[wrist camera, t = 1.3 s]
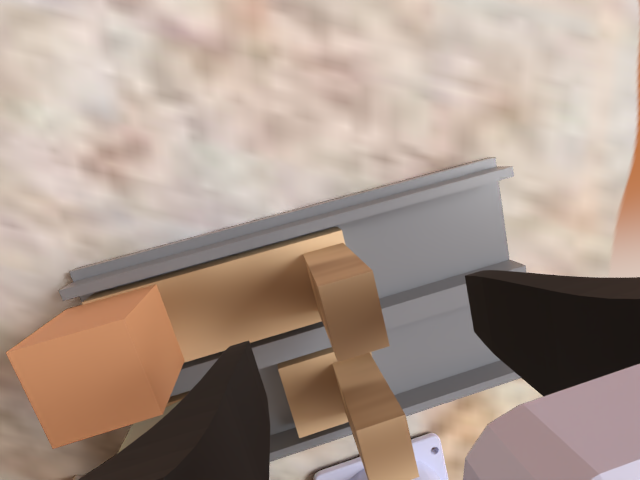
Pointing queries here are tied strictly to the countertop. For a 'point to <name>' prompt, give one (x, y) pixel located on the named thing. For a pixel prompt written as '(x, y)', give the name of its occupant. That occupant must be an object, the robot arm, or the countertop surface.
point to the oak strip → (272, 297)
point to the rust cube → (100, 366)
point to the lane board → (391, 281)
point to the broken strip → (307, 392)
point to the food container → (77, 477)
